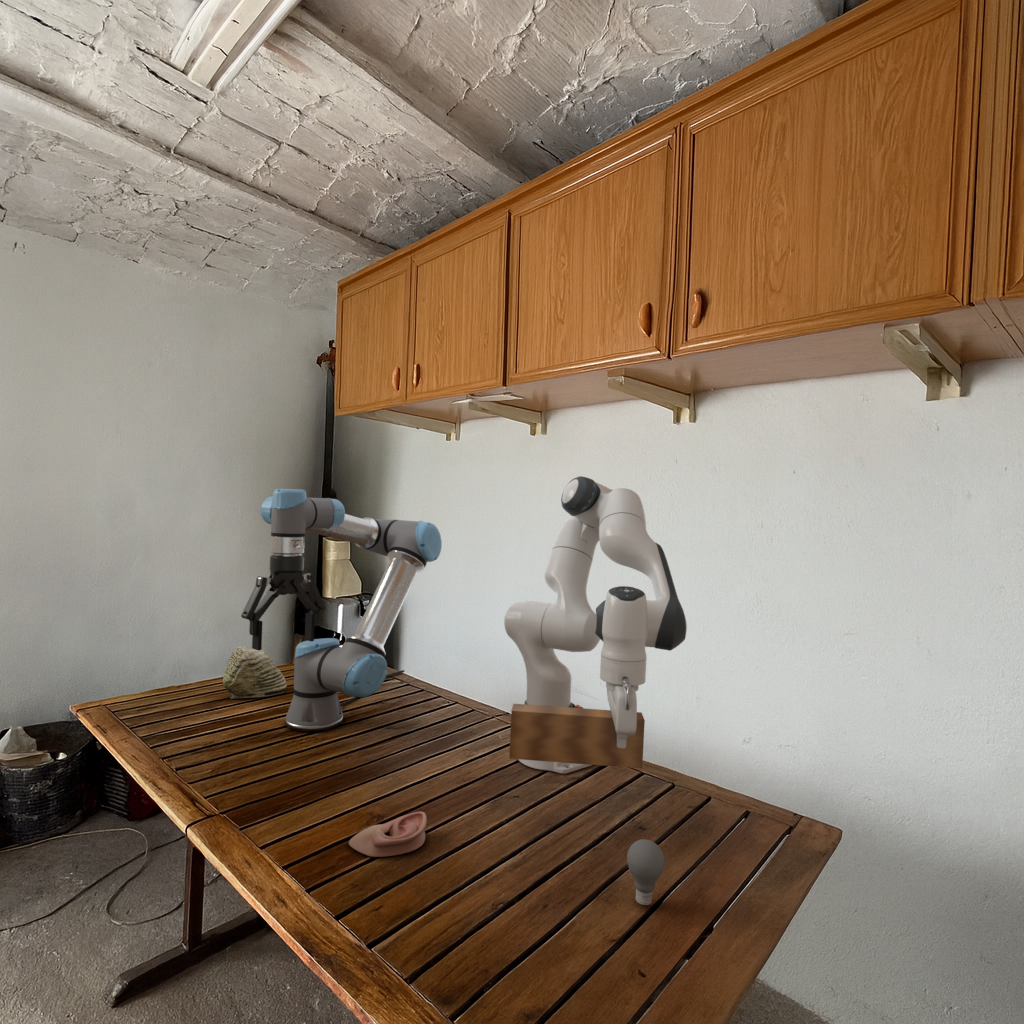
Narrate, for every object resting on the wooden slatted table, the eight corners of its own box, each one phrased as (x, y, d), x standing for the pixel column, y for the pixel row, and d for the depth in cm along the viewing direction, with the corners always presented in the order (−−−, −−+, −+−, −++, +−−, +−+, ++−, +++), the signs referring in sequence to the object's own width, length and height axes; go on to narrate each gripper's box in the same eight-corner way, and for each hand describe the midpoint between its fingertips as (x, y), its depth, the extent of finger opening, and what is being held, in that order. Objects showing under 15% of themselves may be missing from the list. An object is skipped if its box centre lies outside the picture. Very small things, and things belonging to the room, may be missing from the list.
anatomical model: (341, 830, 113) (368, 800, 124) (340, 851, 113) (367, 820, 124) (411, 841, 110) (433, 810, 122) (411, 863, 111) (432, 830, 122)
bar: (509, 758, 124) (511, 710, 123) (510, 749, 128) (513, 703, 128) (642, 768, 122) (644, 719, 122) (639, 759, 126) (641, 712, 126)
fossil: (218, 695, 195) (220, 647, 195) (278, 685, 208) (279, 640, 207) (228, 703, 189) (230, 653, 188) (289, 692, 201) (290, 645, 201)
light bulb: (620, 891, 105) (623, 832, 105) (655, 891, 106) (658, 832, 106) (630, 915, 99) (633, 852, 99) (667, 914, 100) (670, 852, 100)
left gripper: (244, 558, 136) (241, 656, 137) (341, 553, 156) (338, 639, 156) (227, 555, 141) (223, 650, 141) (323, 551, 160) (320, 634, 161)
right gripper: (646, 687, 113) (642, 764, 114) (633, 659, 134) (630, 724, 134) (611, 685, 114) (607, 761, 114) (603, 657, 134) (600, 722, 134)
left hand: (283, 644), depth 149 cm, fingers open, 13 cm apart
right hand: (619, 741), depth 124 cm, fingers closed on bar, 4 cm apart
